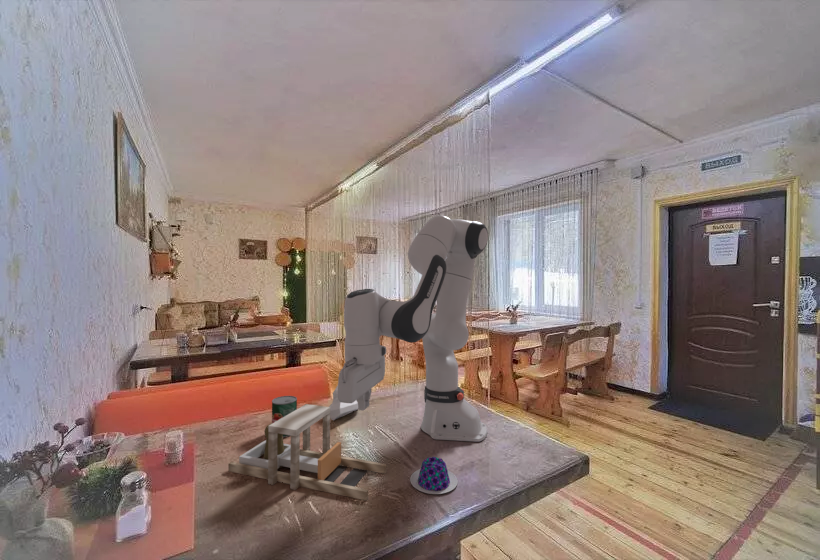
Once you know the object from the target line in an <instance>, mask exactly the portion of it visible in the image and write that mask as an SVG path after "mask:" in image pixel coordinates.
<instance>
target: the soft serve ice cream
mask: <svg viewBox="0 0 820 560" xmlns="http://www.w3.org/2000/svg"><path fill="white" fill-rule="evenodd" d="M328 407H330V420H333V421H335V420H337V419H340V418H342V417H344V416H347V415H349V414H351V413H353V411H354V412H355V411H357V410H359V409H358V402H357V400H356V401H354V402H353V403H342V402H340V401H339V400H338V385H336V387H335V389H334V391H333V392H332V402H331V404H330V405H329V406H328Z"/></svg>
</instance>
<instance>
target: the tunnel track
mask: <svg viewBox="0 0 820 560" xmlns="http://www.w3.org/2000/svg"><path fill="white" fill-rule="evenodd" d="M320 420H322V452H320V451H314V450H311V427H312V426H313V425H314V424H316V423H318V421H320ZM271 423H272V422H271ZM271 423H270V424H271ZM268 425H269V424H268ZM268 425H267V426H268ZM277 433H279V434H285V435H291V436H290V445H291V464H290V472H289V473H288V472H283V471H279V470H278V469H277ZM301 433H302V448H301V446H300V440H301V439H300V436H301V435H300V434H301ZM329 449H331V418H330V407H329V406H323V405H316V404H307V403H305V404H304V405H302V406H301V407H299V408H298V407H297V410H295V411H293V412H291V413H290V414H288V415H286V416H285V417H283V418H281V419H279V420H278V421H276V422H274V423H272V424H271V425H269V426H268V469H265V468H260V467H255V466H250V465H245V464H240V463H239V462H235V461H230V462H228V463H227V464H228V469H227V470H228V472H230V473H236V474H241V475H245V476H250V477H254V478H260V479H262V480H263V479H265V480H267V484H268V485H270V484H271V486H274V485H275V484H277V483H282V482H283V483H282V484H288V485H290V486H289V487H290V488H289V489H291V490H295V491H296V490H297V489H298V488H305V489H310V490H315V491H319V492H325V493H329V494H334V495H339V496H343V497H348V498H352V499H357V500H362V501H367V500H369V489H367V488H363V487H358V486H357V485H358V483H359V482H360V481H361V480H362V478H364V476H365V475H366V473H367V472H368V471H369V472H375V473H381V474H387V471H388V469H387V468H388V464H387V463H382V462H376V461H372V460H371V461H370V460H365V459H359V458H354V457H349V456H342V455H341V463H340V464H339V465H338V466H337V467H336V468H335V469H334V470H333V471H332V472H331V473H330V474H329V475H328V476H327V477H326V478H325V479H324V480H319V479H318V478H314V477H308V476H303V475H300V470H299V463H300V455H301V456H306V457H312V458H317V459H319V458H320V457H322V456H323V455H324V454H325V453H326V452H327V451H328V450H329ZM347 468H352V469H351V470H350V471H349V473H348V474H347V475H346V476H345V477H344V478H343V479H342V481H341V482H335V481H336V480H337V479H338V478H339V477H340V476H341V474H342V473H344V471H345V470H346V469H347ZM277 481H278V482H277Z"/></svg>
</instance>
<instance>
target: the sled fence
mask: <svg viewBox="0 0 820 560" xmlns="http://www.w3.org/2000/svg"><path fill="white" fill-rule="evenodd" d="M265 446H266V440H264V441H261V442H260V443H258V444H257V445H255V446H254V447H253V448H250V449H249V450H247V451H246V452H244V453H243V454H241V455H240V456H238V457H239V458H238V463H240V464H245V465H250V466H255V467H260V468H265V469H268V460H266V459H264V458H260V457H261V456H264V453H265ZM341 456H342V442H339V441H337V442H336V443H335V444H333V446H332V447H330V449H329V450H328V451H327V452H326V453H325V454H324V455H323V456H322V457H320V458H319V459H317V458H312V457H306V456H301V455H300V463H299V471H300V470H301V471H304V472H305V471H306V472H309V473H316V474H317V479H319V480H324V479H325V478H326V477H327V476H328V475H329V474H330V473H331V472H332V471H333V470H334V469H335V468H336V467H337V466H338V465H339V464H340V463H341ZM290 464H291V444H288V443H284V452H283V453H282V454H280V455H277V470H279V469H280V468H279V467H280V466H283V467H285V468H290ZM278 468H279V469H278Z"/></svg>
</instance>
